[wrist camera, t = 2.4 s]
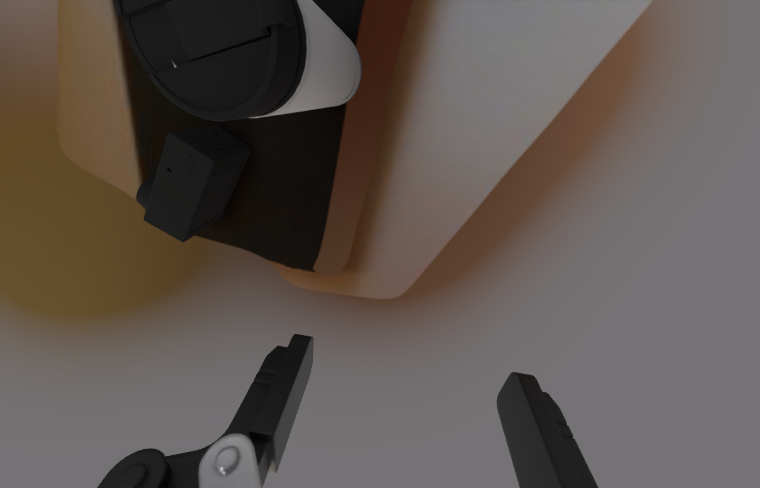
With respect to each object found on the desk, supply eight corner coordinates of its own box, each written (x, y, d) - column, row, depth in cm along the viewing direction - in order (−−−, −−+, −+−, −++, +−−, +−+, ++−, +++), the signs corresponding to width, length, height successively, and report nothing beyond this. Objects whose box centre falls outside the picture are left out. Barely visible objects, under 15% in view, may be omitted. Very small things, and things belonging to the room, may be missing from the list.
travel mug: (372, 97, 27) (313, 99, 10) (310, 112, 28) (155, 141, 11) (356, 18, 24) (230, -180, 7) (287, 39, 26) (28, -84, 8)
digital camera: (206, 116, 29) (153, 121, 23) (253, 147, 30) (214, 160, 24) (180, 192, 34) (129, 213, 28) (221, 217, 35) (182, 243, 29)
